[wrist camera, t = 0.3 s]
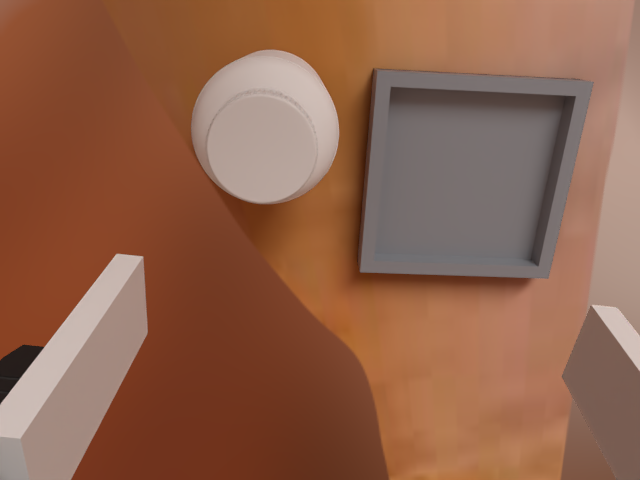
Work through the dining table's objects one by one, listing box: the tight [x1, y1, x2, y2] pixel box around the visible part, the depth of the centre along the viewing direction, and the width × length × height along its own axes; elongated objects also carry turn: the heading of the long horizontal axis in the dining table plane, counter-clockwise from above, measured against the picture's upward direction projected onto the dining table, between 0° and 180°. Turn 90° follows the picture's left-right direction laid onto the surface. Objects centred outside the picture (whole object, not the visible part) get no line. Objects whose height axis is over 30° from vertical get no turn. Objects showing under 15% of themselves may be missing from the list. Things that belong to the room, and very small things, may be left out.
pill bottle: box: [191, 50, 339, 204], centre depth 32 cm, size 8×8×15 cm
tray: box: [357, 69, 594, 279], centre depth 40 cm, size 15×15×2 cm
